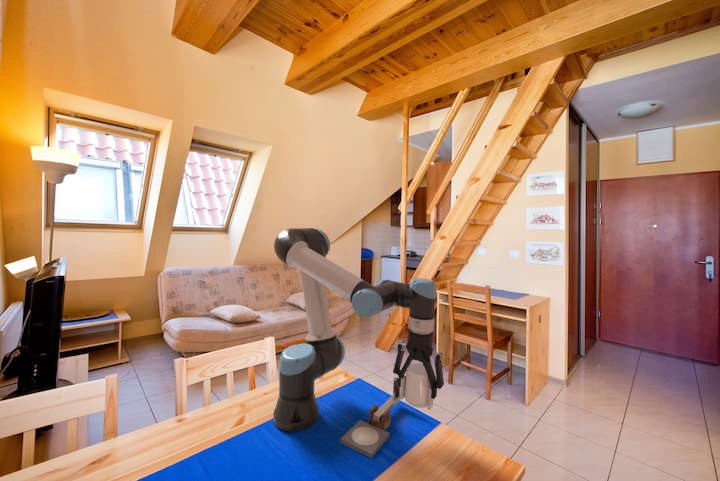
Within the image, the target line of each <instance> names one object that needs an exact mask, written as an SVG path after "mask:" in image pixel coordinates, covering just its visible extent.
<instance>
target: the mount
mask: <svg viewBox="0 0 720 481" xmlns="http://www.w3.org/2000/svg"><path fill="white" fill-rule="evenodd" d="M378 409H379V404H377V403H375V404H374V405H373V406H372V407H371V408H370V409H369V414H368V415H369V417H368V424H370V425H372V426H375V427H377V428H379V429H382V430H384V431H386V430H387V429H388V428H389V426H391V410H390V409H387V410H386V411H385V412H384V413H383V414H382V420H381V421H380V422H377V421H375V420H373V414H374V413H375V412H376V411H377V410H378Z"/></svg>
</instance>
